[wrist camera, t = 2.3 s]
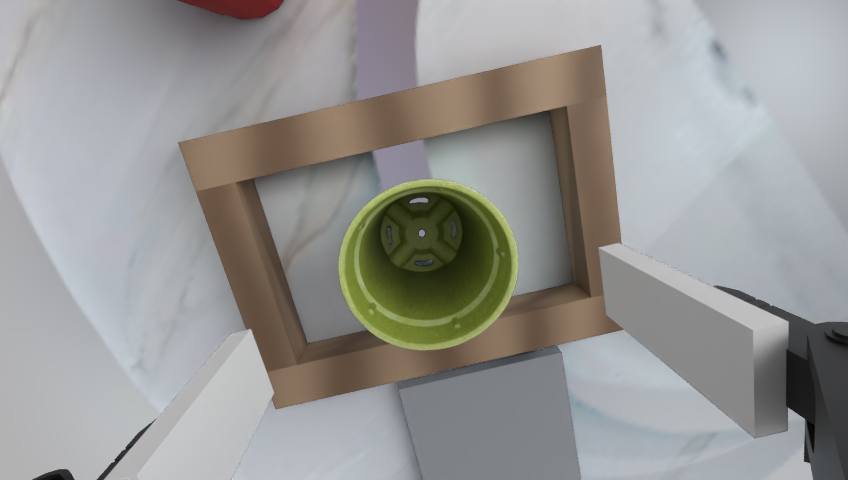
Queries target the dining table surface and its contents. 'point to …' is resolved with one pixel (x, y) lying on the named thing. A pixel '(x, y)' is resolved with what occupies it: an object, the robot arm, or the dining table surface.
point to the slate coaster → (494, 420)
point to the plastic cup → (238, 7)
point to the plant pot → (434, 284)
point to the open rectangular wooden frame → (388, 126)
